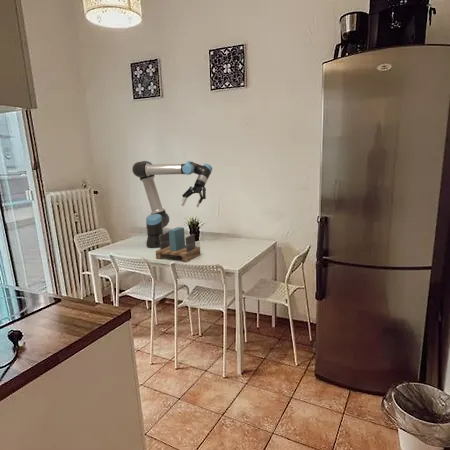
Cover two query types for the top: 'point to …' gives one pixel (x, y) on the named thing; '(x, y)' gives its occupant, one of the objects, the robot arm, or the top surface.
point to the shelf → (186, 253)
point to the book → (177, 239)
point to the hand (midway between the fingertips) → (189, 205)
